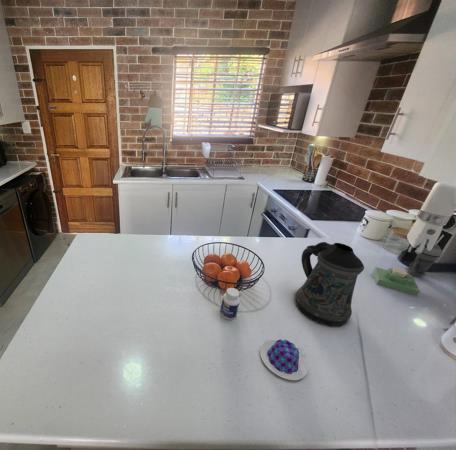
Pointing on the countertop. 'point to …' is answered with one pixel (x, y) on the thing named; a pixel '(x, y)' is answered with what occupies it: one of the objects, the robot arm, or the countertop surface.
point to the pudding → (283, 359)
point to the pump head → (399, 272)
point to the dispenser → (395, 281)
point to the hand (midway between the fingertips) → (406, 260)
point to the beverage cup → (424, 260)
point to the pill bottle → (230, 304)
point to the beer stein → (328, 283)
